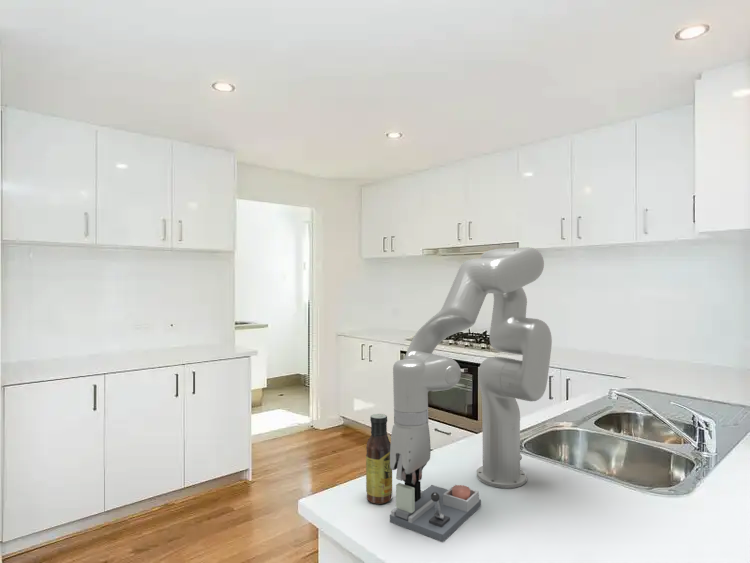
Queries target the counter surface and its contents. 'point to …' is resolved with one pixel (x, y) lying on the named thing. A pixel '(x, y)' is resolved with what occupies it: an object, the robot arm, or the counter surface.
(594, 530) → the counter surface
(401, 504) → the pale green block
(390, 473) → the sauce bottle
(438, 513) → the toggle
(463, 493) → the button
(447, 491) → the panel
